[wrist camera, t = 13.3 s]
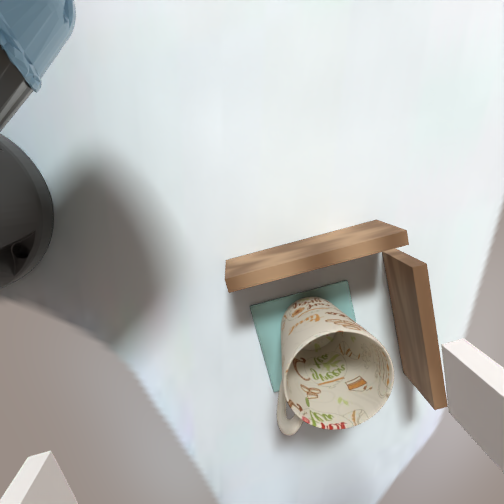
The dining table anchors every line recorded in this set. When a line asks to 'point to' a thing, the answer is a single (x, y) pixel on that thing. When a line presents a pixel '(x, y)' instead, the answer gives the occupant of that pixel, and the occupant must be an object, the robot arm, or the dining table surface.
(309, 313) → the mug
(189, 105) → the dining table surface
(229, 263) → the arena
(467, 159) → the dining table surface
